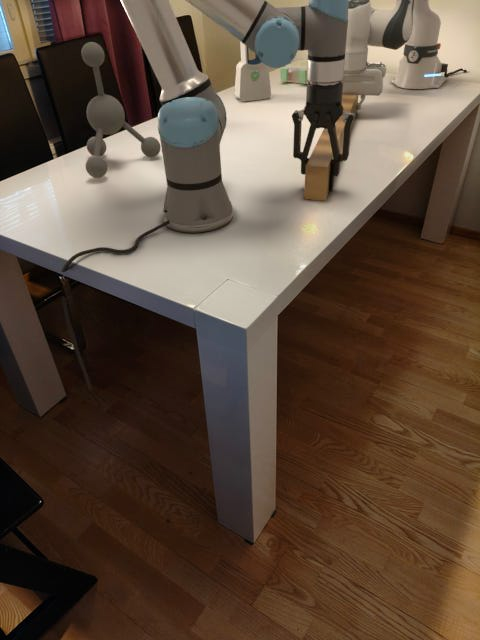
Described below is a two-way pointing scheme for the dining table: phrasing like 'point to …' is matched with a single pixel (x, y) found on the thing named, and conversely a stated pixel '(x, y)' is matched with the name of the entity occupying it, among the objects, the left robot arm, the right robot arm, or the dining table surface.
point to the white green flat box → (295, 72)
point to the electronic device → (251, 78)
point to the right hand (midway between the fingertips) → (348, 109)
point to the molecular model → (107, 117)
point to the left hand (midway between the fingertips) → (319, 187)
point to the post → (326, 155)
